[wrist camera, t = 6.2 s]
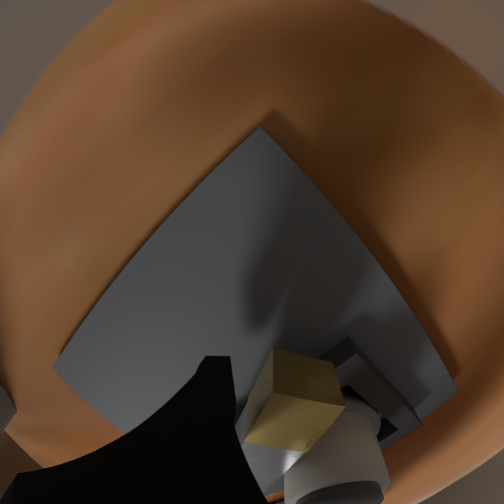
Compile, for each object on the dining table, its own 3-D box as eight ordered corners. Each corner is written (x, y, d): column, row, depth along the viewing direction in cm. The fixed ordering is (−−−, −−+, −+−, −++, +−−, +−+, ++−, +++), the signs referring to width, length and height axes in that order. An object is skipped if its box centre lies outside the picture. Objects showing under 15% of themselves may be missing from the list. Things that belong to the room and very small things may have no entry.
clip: (240, 498, 11) (236, 530, 9) (188, 486, 11) (179, 518, 9) (346, 365, 8) (365, 418, 6) (255, 341, 8) (250, 397, 6)
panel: (452, 382, 11) (467, 403, 9) (247, 491, 14) (245, 512, 12) (260, 131, 9) (258, 118, 7) (59, 360, 12) (40, 379, 10)
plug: (389, 413, 11) (419, 491, 6) (313, 456, 12) (320, 532, 7) (340, 367, 10) (371, 470, 5) (253, 420, 11) (244, 514, 6)
